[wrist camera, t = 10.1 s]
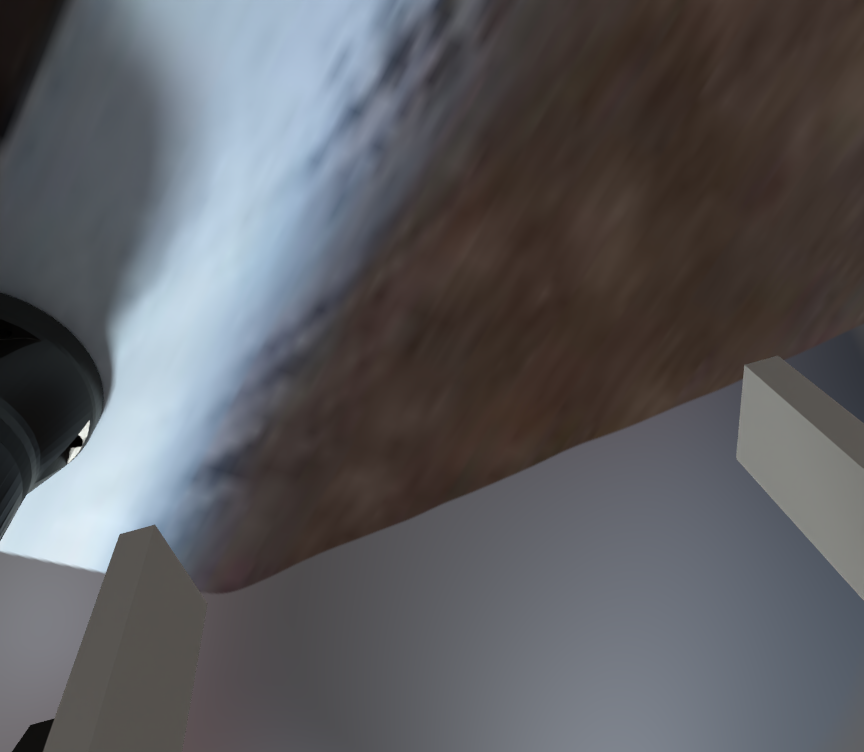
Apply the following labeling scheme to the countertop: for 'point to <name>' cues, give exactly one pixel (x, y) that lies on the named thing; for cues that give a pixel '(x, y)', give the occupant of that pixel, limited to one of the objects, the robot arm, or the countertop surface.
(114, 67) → the countertop surface
